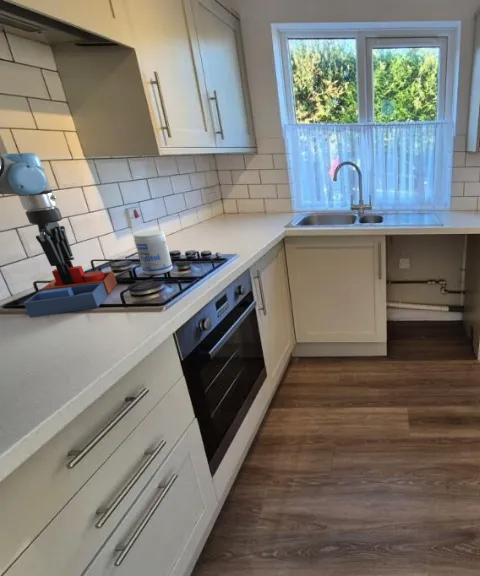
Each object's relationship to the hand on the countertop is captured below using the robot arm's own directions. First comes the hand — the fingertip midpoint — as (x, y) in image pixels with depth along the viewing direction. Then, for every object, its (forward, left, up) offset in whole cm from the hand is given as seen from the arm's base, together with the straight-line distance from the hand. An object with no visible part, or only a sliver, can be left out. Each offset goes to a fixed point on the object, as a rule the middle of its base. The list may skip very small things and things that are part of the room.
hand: (70, 282), depth 116 cm
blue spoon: (+3, -11, -4) cm, 12 cm away
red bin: (+2, 0, -4) cm, 5 cm away
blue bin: (+2, -11, -4) cm, 12 cm away
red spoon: (+3, 0, 0) cm, 3 cm away
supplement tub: (+22, +13, -4) cm, 26 cm away
